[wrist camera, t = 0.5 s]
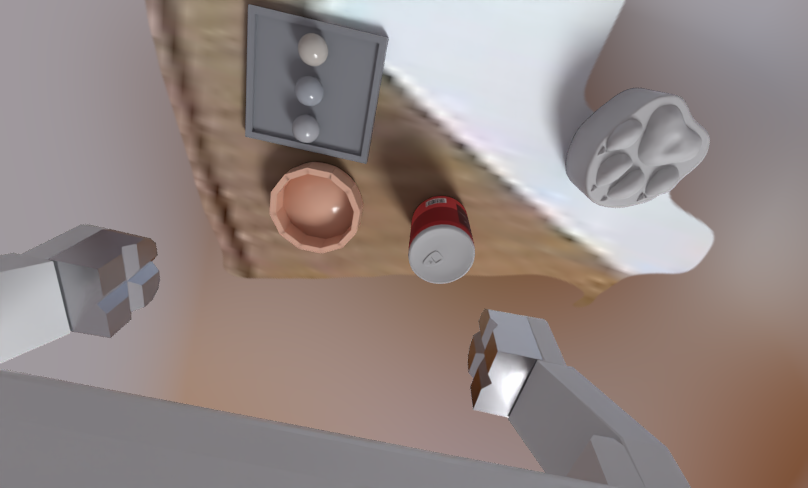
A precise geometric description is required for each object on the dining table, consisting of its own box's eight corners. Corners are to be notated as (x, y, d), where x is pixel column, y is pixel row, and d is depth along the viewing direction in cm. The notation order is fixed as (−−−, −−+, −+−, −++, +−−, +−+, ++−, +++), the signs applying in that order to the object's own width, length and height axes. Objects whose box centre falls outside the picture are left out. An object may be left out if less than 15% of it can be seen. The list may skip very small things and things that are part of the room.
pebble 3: (297, 109, 49) (288, 114, 46) (324, 115, 49) (317, 120, 46) (295, 136, 50) (286, 142, 47) (321, 142, 51) (314, 148, 48)
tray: (252, 4, 44) (248, 3, 43) (388, 37, 45) (387, 37, 44) (249, 134, 51) (245, 136, 50) (367, 161, 52) (366, 163, 51)
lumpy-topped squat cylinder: (683, 136, 48) (732, 154, 41) (594, 206, 53) (622, 234, 45) (636, 75, 45) (678, 80, 38) (546, 154, 50) (567, 174, 43)
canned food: (401, 224, 56) (395, 262, 46) (436, 182, 53) (437, 213, 43) (442, 253, 58) (444, 295, 48) (478, 214, 55) (489, 251, 45)
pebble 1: (304, 30, 45) (295, 29, 42) (332, 37, 45) (325, 36, 42) (301, 61, 46) (292, 63, 43) (329, 68, 46) (322, 70, 43)
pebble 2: (300, 71, 47) (291, 73, 44) (328, 78, 47) (321, 80, 44) (298, 100, 48) (289, 104, 45) (325, 107, 48) (318, 111, 45)
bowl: (282, 153, 52) (272, 159, 49) (369, 172, 53) (365, 180, 50) (276, 231, 58) (268, 242, 55) (355, 248, 58) (351, 259, 55)
